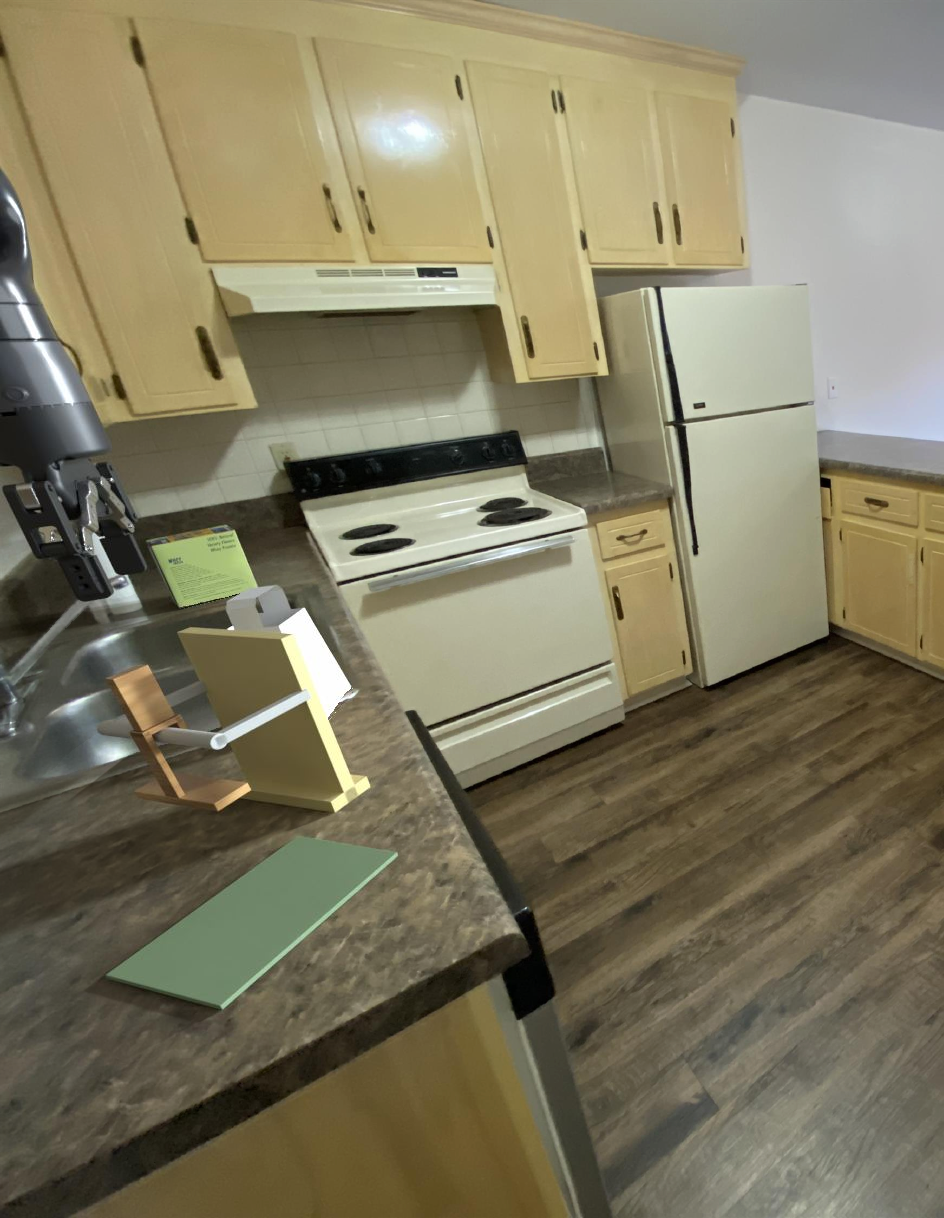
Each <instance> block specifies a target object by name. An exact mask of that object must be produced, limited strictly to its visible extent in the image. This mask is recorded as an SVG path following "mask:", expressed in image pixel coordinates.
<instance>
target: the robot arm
mask: <svg viewBox="0 0 944 1218" xmlns="http://www.w3.org/2000/svg"><path fill="white" fill-rule="evenodd" d="M112 450H113V445H112V443H111V440H110V438H109V436H108V434H107V432H106V429H105V427H104V425H103V423H102V420H101V419H100V416H99V414H98V412H97V410H96V407H95V405H94V402H93V401H92V398H91V396H90V394H89V391H88V389H87V387H86V385H85V383H84V380H83V378H82V376H81V374H80V372H79V370H78V369H77V367H76V364H75V363H74V362H73V360H72V359H71V357H70V356H69V354H68V353H67V350H66V349H65V347H64V345H63V343H62V342H61V341H60V338H59V336H58V333H57V332H56V329H55V327H54V325H53V322H52V321H51V319H50V316H49V313H48V311H47V310H46V308H45V305H44V302H43V301H42V299H41V297H40V295H39V293H38V291H37V289H36V285H35V280H34V267H33V258H32V251H31V245H30V239H29V233H28V227H27V222H26V216H25V211H24V209H23V206H22V202H21V199H20V197H19V195H18V192H17V190H16V188H15V186H14V185H13V182H12V181H11V179H10V178H9V175H8V174H7V173H6V172H5V170H4V169H3V168H2V167H1V166H0V467H13V466H14V467H17V468H18V469H19V470H20V471H21V476H22V478H23V482H17V483H11V484H3V485H2V487H1V490H2V493H3V495H4V497H5V500H6V501H7V503H8V506H9V508H10V509H11V512H12V514H13V516H14V518H15V520H16V522H17V523H18V526H19V528H20V530H21V531H22V534H23V536H24V538H25V540H26V542H27V544H28V546H29V548H30V550H31V553H32V554H33V556H34V557H35V558H36V559H37V560H44V559H49V560H50V561H52V562H57V563H58V565H59V567H60V569H61V571H62V573H63V574H64V577H65V578H66V580H67V582H68V584H69V586H70V589H71V590H72V592H73V594H74V595H75V598H76V599H77V600H78V601H80V602H83V603H87V602H93V601H99V600H105V599H108V598H110V597H112V596H113V595H114V594H115V589H114V588H113V585H112V583H111V582H110V579H109V577H108V575H107V574H106V571H105V569H104V567H103V565H102V563H101V561H100V558H99V557H98V555H97V554H95V546H94V540H93V534H95V535H96V536H97V537H98V538H99V539H98V540H99V543H100V544H101V547H102V549H103V551H104V552H105V555H106V557H107V560H108V562H109V563H110V565H111V568H112V569H113V571H114V574H116V575H118V576H121V577H122V576H128V575H129V576H130V575H135V574H141V573H143V572H145V571H146V570H147V569H148V565H147V562H146V560H145V558H144V556H143V553H142V552H141V550H140V547H139V545H138V543H137V540H136V538H135V537H134V534H133V533H134V532H135V524H133V523H138V522H139V516H138V514H137V513H136V510H135V509H134V507H133V505H132V502H131V500H130V499H129V497H128V495H127V492H126V490H125V489H124V486H123V484H122V482H121V479H120V477H119V476H118V474H117V472H116V469H115V466H114V465H113V464H112V463H111V462H110V461H101V462H93V461H92V460H91V459H90V458H94V457H100V456H105V455H107V454H109V453H111V452H112Z"/></svg>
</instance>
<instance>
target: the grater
mask: <svg viewBox="0 0 944 1218" xmlns="http://www.w3.org/2000/svg"><path fill="white" fill-rule="evenodd" d="M257 600H258V602H259V605H260V607H261V609H262V611H263V612H258V610H257V607H256V606H257ZM225 612H226V615H227V617H228V618H229V621H230V623H231V625H232V626H230V627H228V628H226V630H242V631H258V632H275V633H291V634H294V636H295V638H296V641H297V643H298V646H299V648H300V651H301V653H302V656H303V658H304V661H305V663H306V666H307V668H308V671H309V673H310V676H311V678H312V681H313V683H314V686H315V688H316V691H317V693H318V696H319V698H320V701H321V703H322V706H323V708H324V711H325V713H326V716H327V718H328V717H329V716H330V714H331V713H332V712H333V711H334V709H335V707H336V706H337V705H338V703H339V702H340V699H341V698H342V697H343V696H344V694H345V693H346V692H347V691H349V690H350V689H351V687H352V686H351V684H350V682H349V681H348V679H347V677H346V676H345V673H344V672H343V670H342V669H341V666H340V665H339V664H338V662H337V660H336V659H335V657H334V655H333V653H332V652H331V650H330V649H329V647H328V645H327V644H326V642H325V640H324V638H323V637H322V635H321V634H320V632H319V630H318V628H317V626H316V625H315V623H314V622H313V620H312V618H311V616H310V615H309V613H308V611H307V610H306V608H305V607H297V608H291V605H290V603H289V601H288V598H287V596H286V593H285V591H284V588H282V587H281V586H279V585H278V584H273V585H272V584H271V585H265V586H258V587H256V588H249V589H247V590H246V591H244V592H242V593H240V594H239V595H236V596H232V597H231V598H230V599H228V600H226V605H225Z"/></svg>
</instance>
